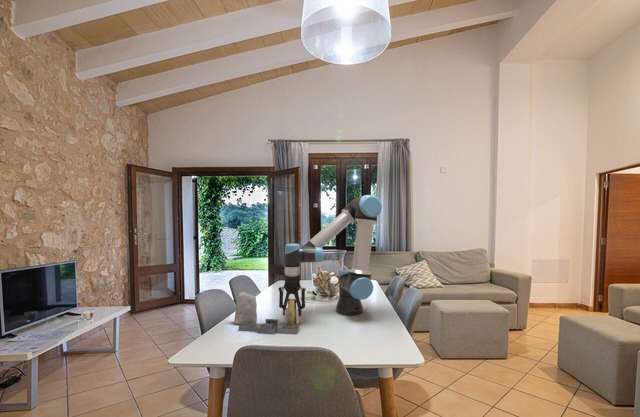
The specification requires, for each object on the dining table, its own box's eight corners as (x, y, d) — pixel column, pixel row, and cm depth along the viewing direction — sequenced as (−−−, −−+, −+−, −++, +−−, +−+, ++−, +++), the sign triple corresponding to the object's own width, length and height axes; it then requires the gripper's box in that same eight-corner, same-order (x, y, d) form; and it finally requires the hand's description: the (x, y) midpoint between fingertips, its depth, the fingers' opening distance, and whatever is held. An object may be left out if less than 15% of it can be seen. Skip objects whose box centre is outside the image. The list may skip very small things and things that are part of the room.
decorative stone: (257, 321, 162) (258, 291, 162) (254, 325, 156) (255, 294, 156) (236, 321, 162) (237, 291, 163) (232, 325, 156) (233, 294, 157)
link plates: (300, 329, 150) (300, 320, 150) (296, 335, 142) (296, 326, 142) (244, 326, 155) (244, 317, 155) (237, 331, 147) (237, 322, 147)
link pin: (297, 323, 160) (297, 298, 160) (295, 325, 156) (295, 300, 156) (289, 322, 160) (289, 298, 161) (287, 325, 156) (287, 300, 157)
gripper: (311, 274, 161) (311, 321, 160) (276, 273, 164) (276, 319, 163) (308, 276, 154) (308, 325, 153) (272, 275, 157) (271, 323, 156)
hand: (292, 322), depth 158 cm, fingers open, 5 cm apart
